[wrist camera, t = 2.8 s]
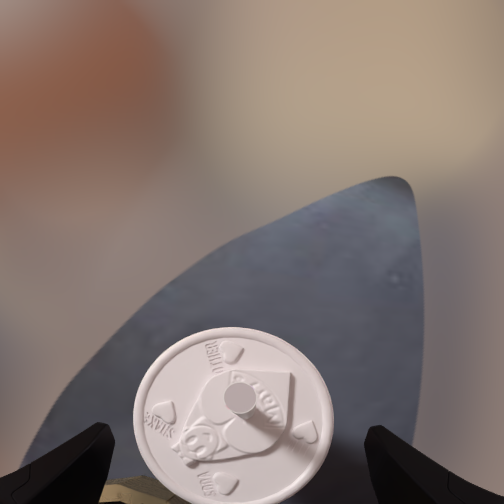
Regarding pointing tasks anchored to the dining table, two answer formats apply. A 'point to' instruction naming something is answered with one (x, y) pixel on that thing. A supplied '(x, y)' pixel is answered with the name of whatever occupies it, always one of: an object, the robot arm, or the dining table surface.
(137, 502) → the collar
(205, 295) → the dining table surface
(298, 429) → the smoothie
